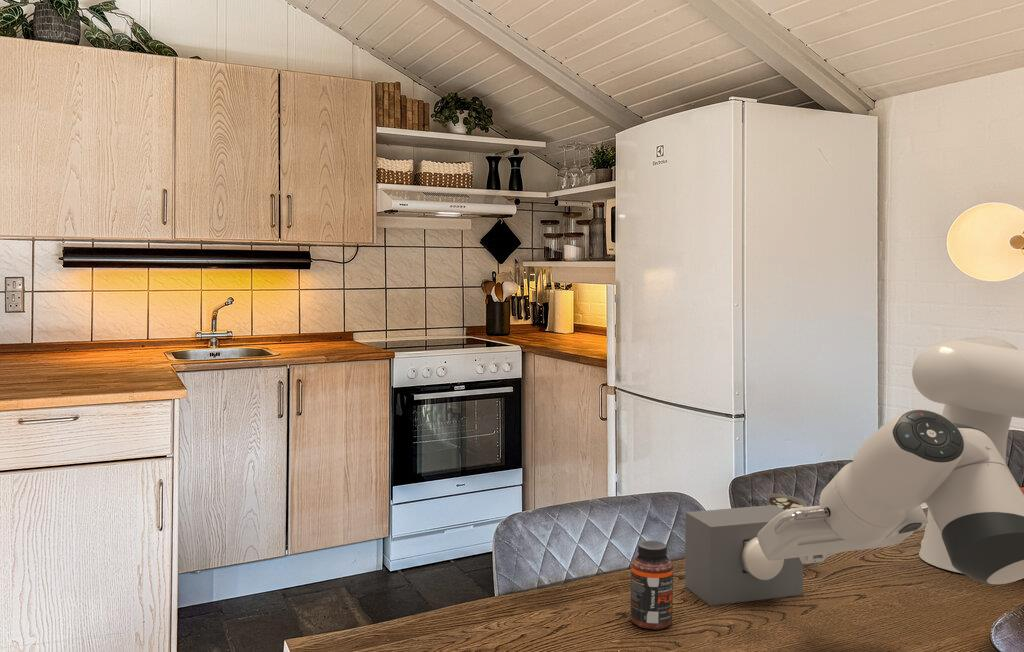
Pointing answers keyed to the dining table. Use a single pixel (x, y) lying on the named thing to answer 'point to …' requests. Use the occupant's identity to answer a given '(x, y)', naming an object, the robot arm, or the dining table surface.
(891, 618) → the dining table surface
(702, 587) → the knob mount
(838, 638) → the dining table surface
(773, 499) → the food container
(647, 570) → the supplement bottle
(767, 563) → the push knob
